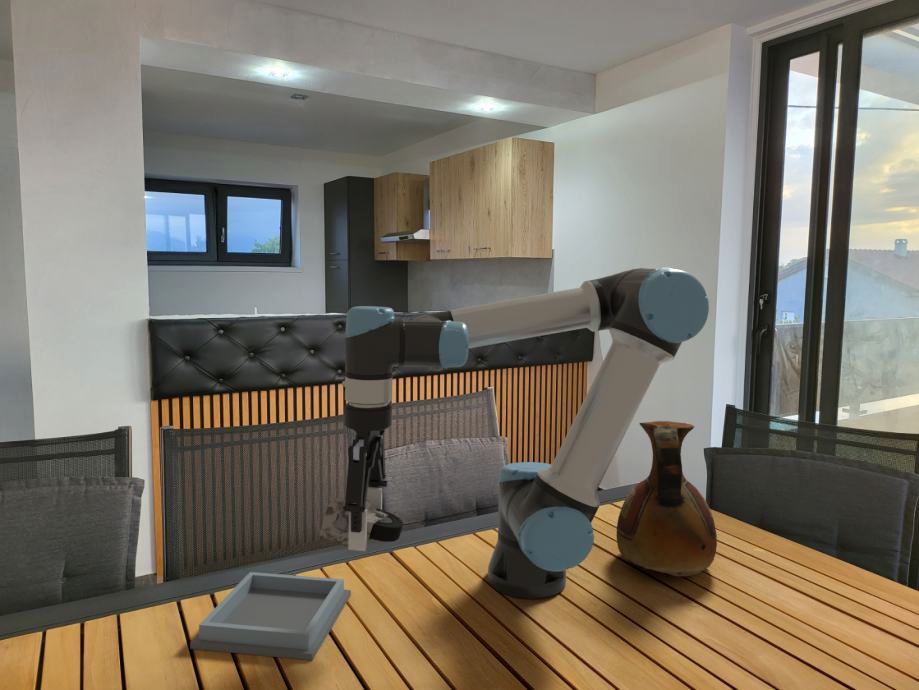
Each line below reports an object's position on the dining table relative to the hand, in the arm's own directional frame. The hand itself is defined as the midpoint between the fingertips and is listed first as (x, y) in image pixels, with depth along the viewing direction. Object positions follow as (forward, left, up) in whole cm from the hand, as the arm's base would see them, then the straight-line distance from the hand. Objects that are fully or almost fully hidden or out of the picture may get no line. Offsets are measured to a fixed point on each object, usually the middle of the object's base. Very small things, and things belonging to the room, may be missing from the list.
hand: (365, 536), depth 105 cm
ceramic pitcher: (-54, -32, -16) cm, 65 cm away
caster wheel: (0, 0, 0) cm, 1 cm away
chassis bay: (+16, 0, -16) cm, 22 cm away
